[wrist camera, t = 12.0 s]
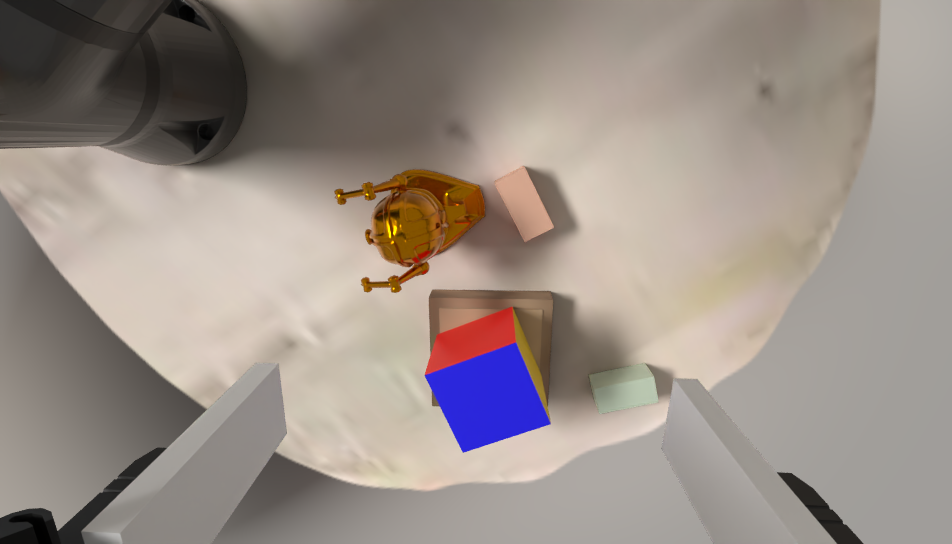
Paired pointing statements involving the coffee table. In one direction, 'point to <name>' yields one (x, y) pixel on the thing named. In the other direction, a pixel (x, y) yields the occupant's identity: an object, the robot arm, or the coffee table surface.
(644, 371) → the sage brick
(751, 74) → the coffee table surface
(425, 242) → the figurine
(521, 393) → the cube
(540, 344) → the walnut slab
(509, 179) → the terracotta brick
